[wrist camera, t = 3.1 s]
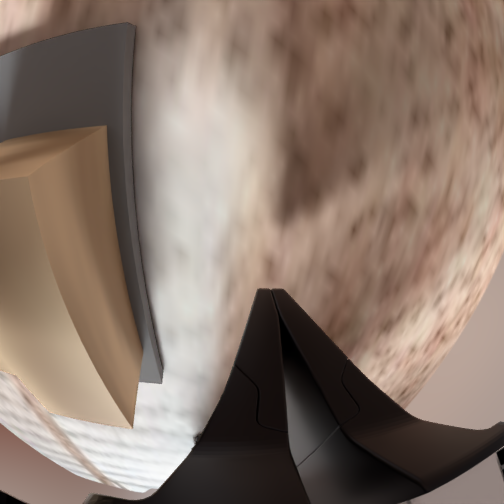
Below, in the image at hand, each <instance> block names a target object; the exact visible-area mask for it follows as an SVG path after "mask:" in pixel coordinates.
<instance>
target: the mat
mask: <svg viewBox="0 0 504 504" xmlns="http://www.w3.org/2000/svg"><path fill="white" fill-rule="evenodd" d="M135 30H136V26H134V25H132V24H130V23H128V22H127V23H120V24H113V25H107V26H101V27H96V28H91V29H86V30H82V31H77V32H73V33H69V34H65V35H61V36H57V37H54V38H50V39H47V40H44V41H41V42H38V43H34V44H32V45H29V46H26V47H23V48H20V49H18V50H15V51H12V52H10V53H7V54H5V55H2V56H0V143H2V142H3V141H5V140H8V139H13V138H18V137H23V136H28V135H34V134H40V133H46V132H52V131H59V130H67V129H75V128H83V127H93V126H105V125H107V142H108V159H109V172H110V183H111V192H112V201H113V209H114V217H115V224H116V231H117V237H118V243H119V249H120V255H121V260H122V266H123V271H124V276H125V281H126V285H127V290H128V294H129V299H130V303H131V307H132V311H133V315H134V319H135V323H136V327H137V331H138V335H139V338H140V342H141V345H142V349H143V358H142V364H141V370H140V377H139V382H146V383H158V384H162V379H163V369H162V365H161V361H160V357H159V352H158V348H157V344H156V339H155V335H154V330H153V325H152V320H151V315H150V310H149V304H148V299H147V293H146V287H145V281H144V275H143V268H142V261H141V254H140V246H139V238H138V230H137V220H136V210H135V199H134V186H133V169H132V145H131V91H132V67H133V52H134V40H135Z"/></svg>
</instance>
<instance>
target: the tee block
mask: <svg viewBox="0 0 504 504" xmlns="http://www.w3.org/2000/svg"><path fill="white" fill-rule="evenodd" d="M142 358H143V349H142V345H141V342H140V338H139V335H138V331H137V327H136V323H135V319H134V315H133V311H132V307H131V303H130V299H129V294H128V290H127V285H126V281H125V276H124V271H123V266H122V260H121V255H120V249H119V243H118V237H117V231H116V224H115V217H114V209H113V201H112V192H111V183H110V172H109V159H108V142H107V125H105V126H93V127H83V128H75V129H67V130H59V131H52V132H46V133H40V134H34V135H28V136H23V137H18V138H13V139H8V140H5V141H3V142H2V143H0V371H3V372H7V373H10V374H13V375H16V376H17V377H18V378H19V379H20V380H21V382H22V383H23V384H24V385H25V386H26V387H27V389H28V390H29V391H30V392H31V393H32V394H33V395H34V396H35V398H36V399H37V400H38V401H39V402H40V403H41V404H42V405H43V406H44V407H45V408H46V409H47V410H48V411H49V412H50V413H54V414H58V415H62V416H66V417H70V418H74V419H78V420H83V421H88V422H92V423H98V424H103V425H109V426H115V427H121V428H128V429H133V422H134V414H135V405H136V398H137V390H138V383H139V377H140V370H141V364H142Z"/></svg>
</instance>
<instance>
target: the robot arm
mask: <svg viewBox="0 0 504 504" xmlns="http://www.w3.org/2000/svg"><path fill="white" fill-rule="evenodd" d="M347 359H348V357H347V356H346V355H345V354H344V353H343V352H342V351H341V350H340V349H339V348H338V347H337V346H336V344H335V343H334V342H333V341H332V340H331V339H330V338H329V337H328V336H327V335H326V334H325V333H324V332H323V331H322V329H321V328H320V327H319V326H318V325H317V324H316V323H315V322H314V321H313V320H312V319H311V318H310V317H309V316H308V314H307V313H306V312H305V311H304V310H303V309H302V308H301V307H300V306H299V305H298V304H297V303H296V302H295V300H294V299H293V298H292V297H291V296H290V295H289V294H288V293H287V292H286V291H285V290H284V289H271V290H270V289H268V288H259V289H257V292H256V295H255V298H254V301H253V305H252V308H251V311H250V314H249V317H248V321H247V324H246V327H245V330H244V333H243V336H242V339H241V343H240V346H239V349H238V352H237V355H236V358H235V361H234V364H233V367H232V370H231V373H230V376H229V379H228V382H227V384H226V387H225V390H224V392H223V394H222V396H221V398H220V400H219V402H218V404H217V406H216V408H215V410H214V412H213V414H212V416H211V417H210V419H209V421H208V423H207V425H206V427H205V428H204V430H203V432H202V434H201V436H198V437H196V444H195V446H194V447H193V448H192V450H191V452H190V453H189V455H188V456H187V457H186V458H185V460H184V461H183V462H182V463H181V464H180V465H179V466H178V468H177V469H176V470H175V471H174V472H173V473H172V474H171V475H170V477H169V478H168V479H167V480H166V481H165V482H164V483H163V484H162V485H161V486H160V487H159V489H158V490H157V491H156V492H155V493H153V494H152V495H151V496H149V497H147V498H144V499H140V500H128V499H123V498H117V497H112V496H107V495H102V494H95V493H91V494H89V495H88V496H87V498H86V499H85V501H84V503H83V504H504V447H503V446H504V422H499V423H497V424H495V425H494V426H492V427H491V428H489V429H484V430H473V429H465V428H460V427H454V426H449V425H443V424H438V423H433V422H429V421H424V420H421V419H418V418H416V417H414V416H412V415H411V414H409V413H408V412H407V411H405V410H404V409H403V408H402V407H400V406H399V405H398V404H397V403H396V402H395V401H393V400H392V399H391V398H390V397H389V396H387V395H386V394H385V393H384V392H383V391H382V390H380V389H379V388H378V387H377V386H376V385H375V384H374V383H373V382H372V381H370V380H369V379H368V378H367V377H366V376H365V375H364V374H363V373H362V372H361V371H360V370H359V369H358V368H357V367H356V366H355V365H354V364H353V363H352V361H351V360H350V359H348V360H347ZM502 447H503V448H502ZM500 448H501V449H500ZM499 449H500V450H499ZM496 451H497V452H496ZM0 504H29V503H27V502H25V501H22V500H20V499H18V498H16V497H14V496H12V495H10V494H8V493H6V492H4V491H2V490H0Z"/></svg>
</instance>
